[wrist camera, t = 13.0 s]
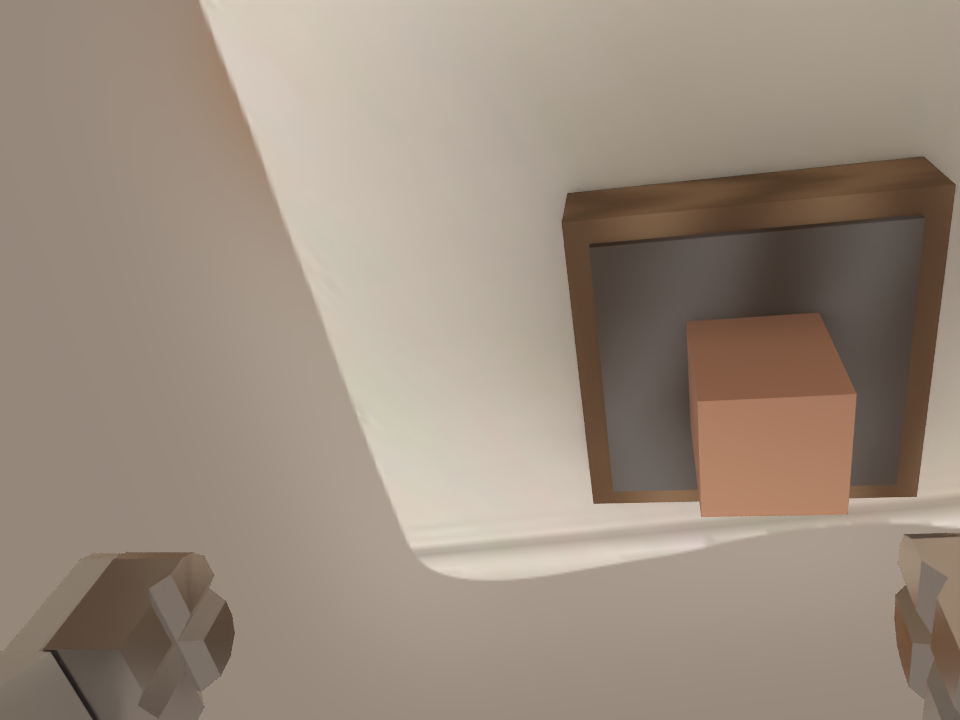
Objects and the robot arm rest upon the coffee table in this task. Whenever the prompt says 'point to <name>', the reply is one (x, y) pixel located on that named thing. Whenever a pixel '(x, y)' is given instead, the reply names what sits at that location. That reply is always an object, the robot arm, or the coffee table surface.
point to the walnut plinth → (755, 306)
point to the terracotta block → (769, 416)
